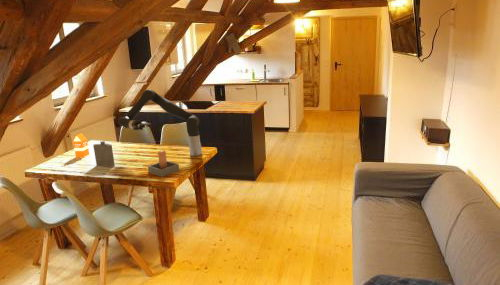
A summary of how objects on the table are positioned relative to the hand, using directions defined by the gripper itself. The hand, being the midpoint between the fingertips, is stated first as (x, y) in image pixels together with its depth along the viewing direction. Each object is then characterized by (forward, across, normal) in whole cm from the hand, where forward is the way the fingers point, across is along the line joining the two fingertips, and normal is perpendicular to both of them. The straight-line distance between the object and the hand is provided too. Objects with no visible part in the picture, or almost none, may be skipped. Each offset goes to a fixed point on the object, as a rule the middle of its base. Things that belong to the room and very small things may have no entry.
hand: (147, 127), depth 286 cm
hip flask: (-28, -24, +30) cm, 48 cm away
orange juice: (-70, -23, +30) cm, 80 cm away
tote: (+23, -5, +30) cm, 38 cm away
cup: (+23, -5, +30) cm, 38 cm away
